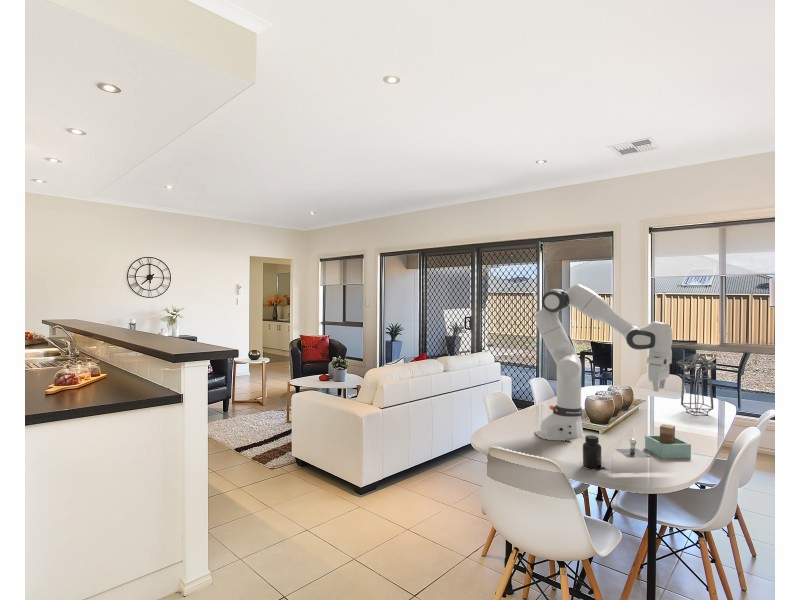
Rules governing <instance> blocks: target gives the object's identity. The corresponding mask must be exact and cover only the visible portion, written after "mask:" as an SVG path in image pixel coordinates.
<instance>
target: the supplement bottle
mask: <svg viewBox="0 0 800 600" xmlns="http://www.w3.org/2000/svg"><path fill="white" fill-rule="evenodd" d="M599 442H600V441H599V437H598V436H597V435H593V434H588V435H584V443H583V444H582V465H583V468H585V467H586V468H585V469H587V468H589V469H588V470H590V469H599V470H601V469H602V465H603V464H602V458H603V457H602V445H601V444H600V443H599Z"/></svg>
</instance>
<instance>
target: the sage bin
mask: <svg viewBox="0 0 800 600" xmlns="http://www.w3.org/2000/svg"><path fill="white" fill-rule="evenodd" d="M644 449H646V450H648V451H649V452H651V453H652V454H654V455H656V456H658V457H660V458H661V459H690V460H691V458H692V444H691V443H689V442H687V441H685V440H682V439H680V438H678V437H677V436H675V444H662V443H661V442H660V434H659V435H657V434H656V435H655V434H654V435H653V434H652V435H644Z"/></svg>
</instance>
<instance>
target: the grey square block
mask: <svg viewBox="0 0 800 600" xmlns="http://www.w3.org/2000/svg"><path fill="white" fill-rule="evenodd" d="M628 442H629V445H630V446H629V447H630V448H615V451H616V452H619V453H620V454H622V455H623V456H625V457H626V458H633V459H634V458H651V456H650V455H648V454H647V453H645V452H644V451H642V450H640V449H638V448H636V445H637V440H636V439H635V438H630V439H629V441H628Z"/></svg>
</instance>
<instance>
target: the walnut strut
mask: <svg viewBox="0 0 800 600" xmlns="http://www.w3.org/2000/svg"><path fill="white" fill-rule="evenodd" d="M659 435H660V442H661V443H662V444H675V437H676V426H675V425H671V424H665V423H662V424H661V425H659Z"/></svg>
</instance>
